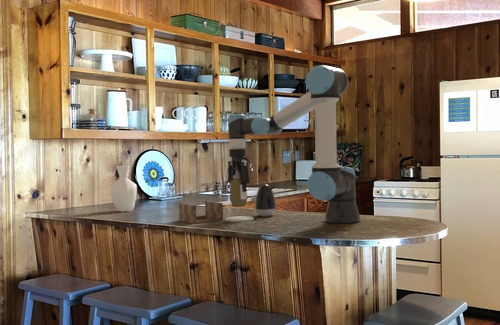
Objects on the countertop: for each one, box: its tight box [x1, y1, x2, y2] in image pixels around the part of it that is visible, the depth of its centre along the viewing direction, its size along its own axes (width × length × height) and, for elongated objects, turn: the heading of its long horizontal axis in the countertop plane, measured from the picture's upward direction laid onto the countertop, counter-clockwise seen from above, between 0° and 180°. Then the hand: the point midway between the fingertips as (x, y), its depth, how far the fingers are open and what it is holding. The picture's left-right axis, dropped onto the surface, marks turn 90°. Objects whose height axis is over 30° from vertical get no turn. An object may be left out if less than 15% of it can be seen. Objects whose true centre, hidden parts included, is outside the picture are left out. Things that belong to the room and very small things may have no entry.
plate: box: [225, 215, 255, 223], centre depth 253 cm, size 13×13×1 cm
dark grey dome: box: [254, 183, 277, 217], centre depth 265 cm, size 10×10×15 cm
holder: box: [178, 200, 224, 225], centre depth 255 cm, size 15×15×8 cm
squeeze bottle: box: [229, 169, 248, 208], centre depth 253 cm, size 8×8×18 cm
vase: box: [110, 165, 138, 213], centre depth 306 cm, size 14×14×25 cm
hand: (238, 198), depth 253 cm, fingers closed on squeeze bottle, 8 cm apart
